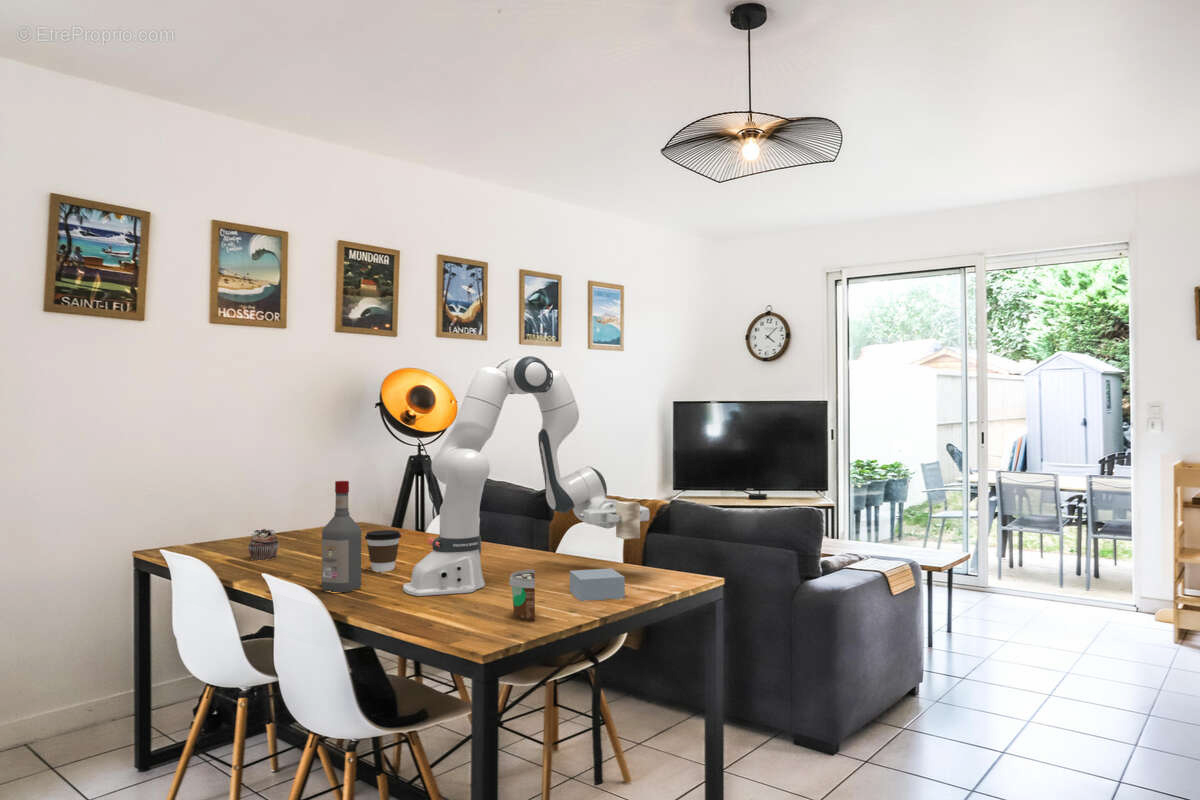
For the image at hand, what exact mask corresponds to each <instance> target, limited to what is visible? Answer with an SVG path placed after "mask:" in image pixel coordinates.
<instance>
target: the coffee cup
mask: <svg viewBox="0 0 1200 800" xmlns="http://www.w3.org/2000/svg"><path fill="white" fill-rule="evenodd" d="M364 538H365V540H366V541H367V544H366V545H367V551H368V557H369V562H370V567H371V571H372V572H373V571H376V572H386V571H391V570H393V569H394V570H395V567H396V561H397V556H398V551H399V546H400V545H399V544H400V543H399V541H400V540H399V539H400V538H402V534H401V533H400V531H399V530H392V529H389V530H387V529H383V530H382V529H380V530H372V531H367V532H366V535H364ZM394 570H393V571H394Z"/></svg>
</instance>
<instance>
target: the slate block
mask: <svg viewBox="0 0 1200 800" xmlns="http://www.w3.org/2000/svg"><path fill="white" fill-rule="evenodd" d="M625 578H626V576H625V575H622V574H621V573H620V572H619V571H616V570H615V569H614V568H598V569H597V568H596V569H595V568H594V569H580V570H569V592H571V593H572V594H573V595H572V594H571V593H570V594H571V595H572V596H573V597H575V599H577V600H578V599H579V600H580V601H585V600H601V601H607V600H606V599H616V600H620V599H619V598H625V599H626V596H625V593H626V591H625V590H626V589H625V585H626V584H625V583H626V582H625V581H626V580H625ZM579 600H578V601H579ZM580 601H579V602H580Z"/></svg>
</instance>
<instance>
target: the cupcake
mask: <svg viewBox="0 0 1200 800" xmlns="http://www.w3.org/2000/svg"><path fill="white" fill-rule="evenodd" d="M251 536H252V537H251V538H250V542H249V544H248V545H247V548H248V551H249V557H250V560H251V559H253V560H266V559H272V558H275V557H276V558H277V554H278V550H279V540H278V536H277V535H276V530H273V529H268V530H267V529H265V528H262V529H260V530H259V529H256V530H254V531H253V532H252V533H251ZM276 558H275V559H276Z"/></svg>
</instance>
